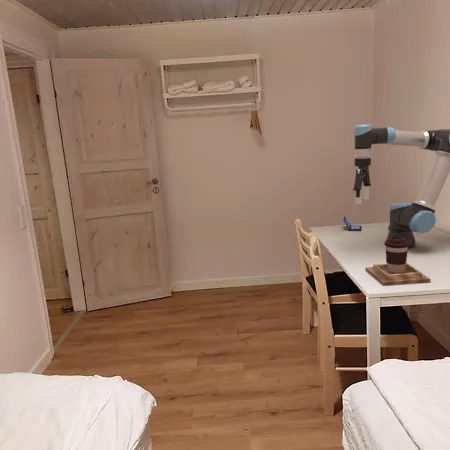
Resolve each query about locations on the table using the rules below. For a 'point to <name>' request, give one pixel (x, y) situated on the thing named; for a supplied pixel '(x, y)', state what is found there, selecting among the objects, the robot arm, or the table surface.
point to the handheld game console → (351, 228)
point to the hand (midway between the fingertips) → (362, 201)
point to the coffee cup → (396, 254)
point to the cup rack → (397, 275)
